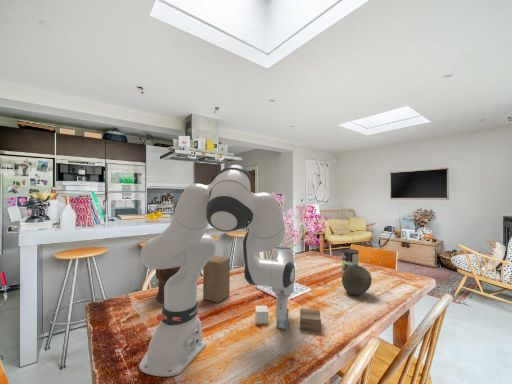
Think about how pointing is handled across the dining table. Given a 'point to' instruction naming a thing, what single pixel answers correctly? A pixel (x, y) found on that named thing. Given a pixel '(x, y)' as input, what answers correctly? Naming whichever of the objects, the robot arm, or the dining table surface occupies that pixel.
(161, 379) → the dining table surface
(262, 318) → the cream cube
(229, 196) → the robot arm
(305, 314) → the walnut base
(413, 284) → the dining table surface
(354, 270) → the dark grey ball
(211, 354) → the dining table surface
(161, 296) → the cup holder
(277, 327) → the blue block
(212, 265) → the wooden block
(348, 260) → the coffee can
